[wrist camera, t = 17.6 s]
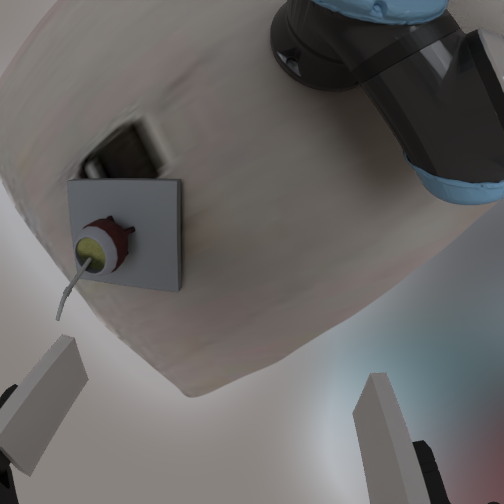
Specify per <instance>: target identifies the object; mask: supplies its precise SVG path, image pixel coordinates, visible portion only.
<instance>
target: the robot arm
mask: <svg viewBox="0 0 504 504" xmlns="http://www.w3.org/2000/svg"><path fill="white" fill-rule="evenodd" d="M448 1H449V0H287V2H286V3H285V4H284V5H283V6H282V7H281V8H280V9H279V10H278V12H277V13H276V15H275V17H274V19H273V22H272V25H271V46H272V50H273V53H274V55H275V58H276V59H277V61H278V63H279V64H280V66H281V67H282V68H283V69H284V70H285V71H286V72H287V73H288V74H289V75H290V76H291V77H293V78H294V79H295V80H297V81H299V82H300V83H302V84H304V85H306V86H309V87H311V88H314V89H318V90H323V91H344V90H349V89H352V88H354V87H357V86H359V85H361V87H362V88H363V89H364V91H365V92H366V94H367V95H368V96H369V98H370V99H371V101H372V102H373V103H374V105H375V106H376V108H377V109H378V111H379V112H380V114H381V115H382V117H383V118H384V120H385V121H386V123H387V124H388V126H389V127H390V129H391V131H392V132H393V134H394V135H395V137H396V139H397V140H398V142H399V144H400V145H401V147H402V149H403V154H404V156H405V159H406V160H407V162H408V163H409V164H410V165H411V166H412V168H413V169H414V170H415V171H416V173H417V175H418V176H419V178H420V180H421V182H422V183H423V185H424V186H425V188H426V189H427V190H429V191H430V192H431V193H432V194H433V195H434V196H436V197H437V198H439V199H441V200H443V201H446V202H449V203H453V204H459V205H480V204H487V203H491V202H495V201H497V200H500V199H502V198H503V195H504V37H502V36H500V35H498V34H496V33H493V32H491V31H489V30H487V29H484V28H479V29H477V30H475V31H472V32H470V33H468V34H465V33H464V32H463V31H462V29H460V27H459V25H458V24H457V22H456V21H455V20H454V18H453V17H452V16H451V14H450V13H449V11H448V10H447V9H446V8H447V5H448ZM369 78H370V79H369ZM87 381H88V377H87V374H86V371H85V368H84V366H83V363H82V360H81V357H80V354H79V351H78V348H77V344H76V341H75V338H74V337H70V336H67V335H63V334H62V335H61V336H60V337H59V339H58V340H57V341H56V342H55V343H54V344H53V345H52V346H51V348H50V349H49V350H48V351H47V352H46V353H45V354H44V356H43V357H42V358H41V359H40V360H39V362H38V363H37V364H36V365H35V366H34V367H33V369H32V370H31V371H30V372H29V374H28V375H27V376H26V377H25V378H24V379H23V381H22V382H21V383H20V384H19V386H18V385H16V384H14V385H13V386H11V387H10V388H8V389H6V391H5V392H4V393H3V394H2V396H1V397H0V504H19V503H18V499H17V495H16V490H15V486H14V481H13V476H12V471H11V468H10V466H9V464H10V463H12V464H13V465H14V466H15V467H16V468H17V469H18V470H20V471H21V472H23V473H25V474H26V475H28V476H31V474H32V473H33V471H34V469H35V467H36V465H37V463H38V462H39V460H40V457H41V456H42V455H43V453H44V451H45V449H46V447H47V446H48V444H49V442H50V441H51V439H52V437H53V436H54V434H55V432H56V431H57V429H58V427H59V425H60V424H61V422H62V421H63V419H64V417H65V416H66V414H67V412H68V411H69V409H70V408H71V406H72V404H73V403H74V401H75V399H76V398H77V396H78V395H79V393H80V392H81V390H82V389H83V387H84V386H85V384H86V382H87ZM353 418H354V422H355V427H356V431H357V436H358V441H359V446H360V450H361V455H362V461H363V466H364V471H365V476H366V482H367V487H368V493H369V498H370V504H451V503H450V502H449V500H448V497H447V494H446V491H445V488H444V485H443V481H442V478H441V475H440V472H439V470H438V466H437V464H436V462H435V458H434V455H433V452H432V450H431V448H430V447H429V446H428V445H427V444H426V442H425V441H424V440H422V441H416V442H412V441H411V438H410V435H409V432H408V429H407V426H406V423H405V421H404V418H403V415H402V412H401V410H400V407H399V404H398V402H397V399H396V396H395V394H394V391H393V388H392V386H391V383H390V381H389V378H388V376H387V373H370V375H369V378H368V380H367V382H366V385H365V387H364V389H363V391H362V394H361V396H360V398H359V400H358V403H357V405H356V407H355V409H354V411H353ZM488 504H499V503H497V502H490V503H488Z"/></svg>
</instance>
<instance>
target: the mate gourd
mask: <svg viewBox="0 0 504 504" xmlns="http://www.w3.org/2000/svg"><path fill="white" fill-rule="evenodd" d="M133 232H135V227H134V226H132V227H129V228H127V229H125V230H124V229H122V228H121V227H120V226H119V225H118V224H117V223H115V221H114V219H113V217H112V216H108V217H107V219H98V220H95V221H93V222H91V223H89V224H88V225H86V226H85V227H84V228H83V229H82V230H81V231H80V232H79V234H78V235H77V237H76V239H75V244H74V254H75V259H76V261H77V263H78V265H79V266H80V267H81V269H80V270H79V272H78V273H77V275H76V276H75V277H74V279H73V280H72V282H71V283H70V285H69V286H68V287H66V289H65V290H64V292H63V296H62V299H61V301H60V305H59V309H58V312H57V316H56V320H57V321H59V320H60V316H61V313H62V309H63V306H64V303H65V300H66V298H67V296H69V294H70V293H71V291H72V290H71V289H72V288H73V287H74V285H75V284H76V282H77V281H78V279H79V278H80V276H81V275H82V273H83V272H84V271H85V272H87V273H89V274H91V275H95V276H105V275H107V274H110V273H112V272H114V271H116V270H117V269H118V268H119V266H120V265H121V264H122V263H123V262H124V260H125V258H126V256H127V255H128V254H129V252H128V235H129V234H131V233H133Z"/></svg>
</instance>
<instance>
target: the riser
mask: <svg viewBox="0 0 504 504" xmlns="http://www.w3.org/2000/svg"><path fill="white" fill-rule="evenodd" d="M67 184H68V201H69V213H70V223H71V232H72V241H73V248H74V244H75V239H76V237H77V235H78V234H79V232H80V231H81V230H82V229H83V228H84V227H85V226H86V225H88V224H89V223H91V222H93V221H95V220H98V219H107V217H108V216H112V217H113V219H114V221H115V223H117V224H118V225H119V226H120V227H121V228H122V229H124V230H125V229H127V228H129V227H132V226H134V227H135V232H133V233H131V234H129V235H128V252H129V254H128V255H127V256H126V258H125V260H124V262H123V263H122V264H121V265H120V266H119V268H118V269H117V270H116V271H114V272H112V273H110V274H107V275H105V276H95V275H91V274H89V273H87V272H85V271H84V272H83V273H82V275H81V276H80V279H86V280H92V281H99V282H105V283H112V284H119V285H126V286H133V287H140V288H148V289H155V290H163V291H171V292H179V291H180V289H181V287H182V276H181V179H147V178H98V179H73V180H69V181H67ZM74 255H75V254H74ZM75 262H76V268H77V273H78V272H79V270H80V269H81V267H80V266H79V265H78V263H77V261H76V259H75Z"/></svg>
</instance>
